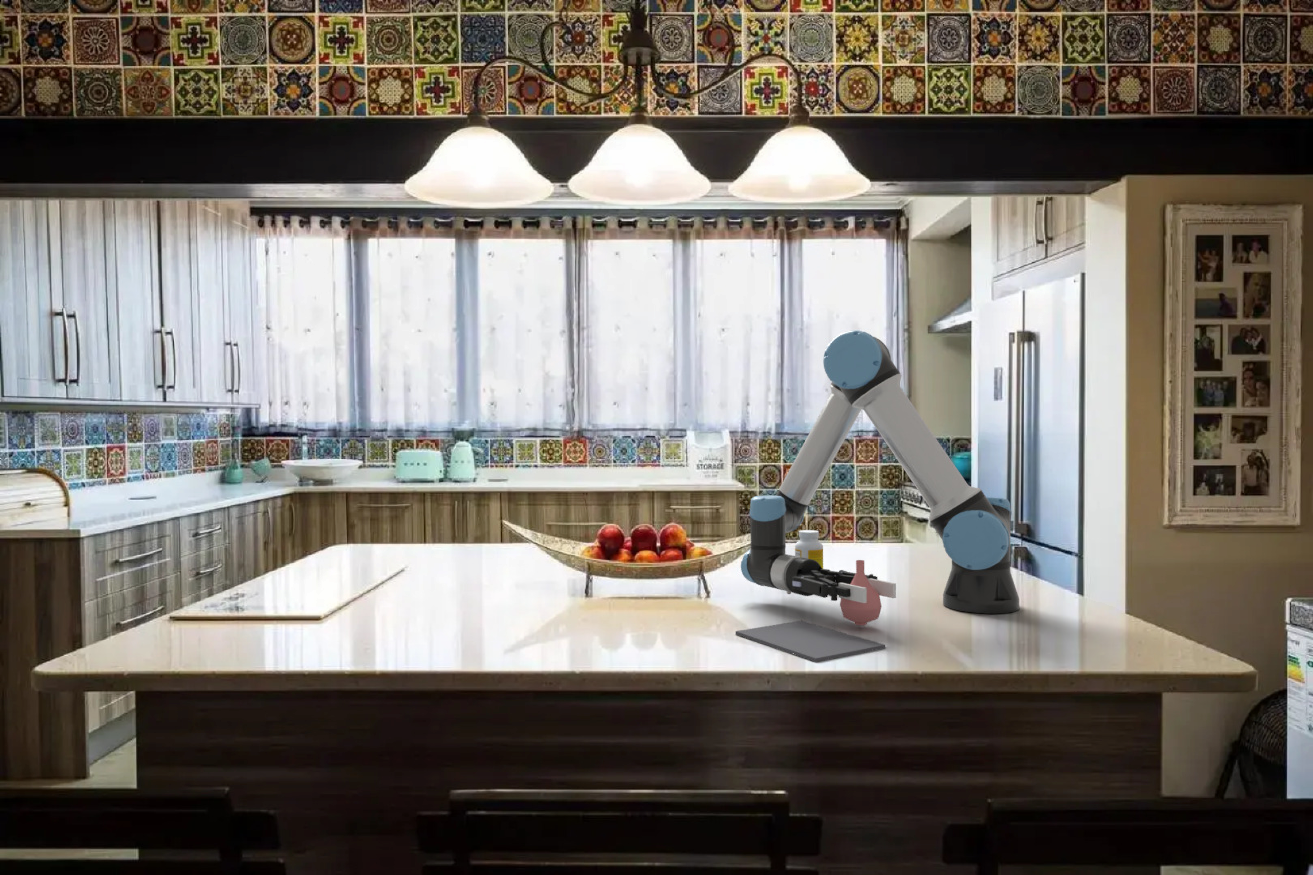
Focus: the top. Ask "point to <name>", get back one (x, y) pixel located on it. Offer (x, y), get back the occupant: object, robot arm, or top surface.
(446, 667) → the top surface
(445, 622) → the top surface
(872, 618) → the pink vase
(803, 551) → the supplement bottle
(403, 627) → the top surface
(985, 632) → the top surface
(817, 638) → the mat
